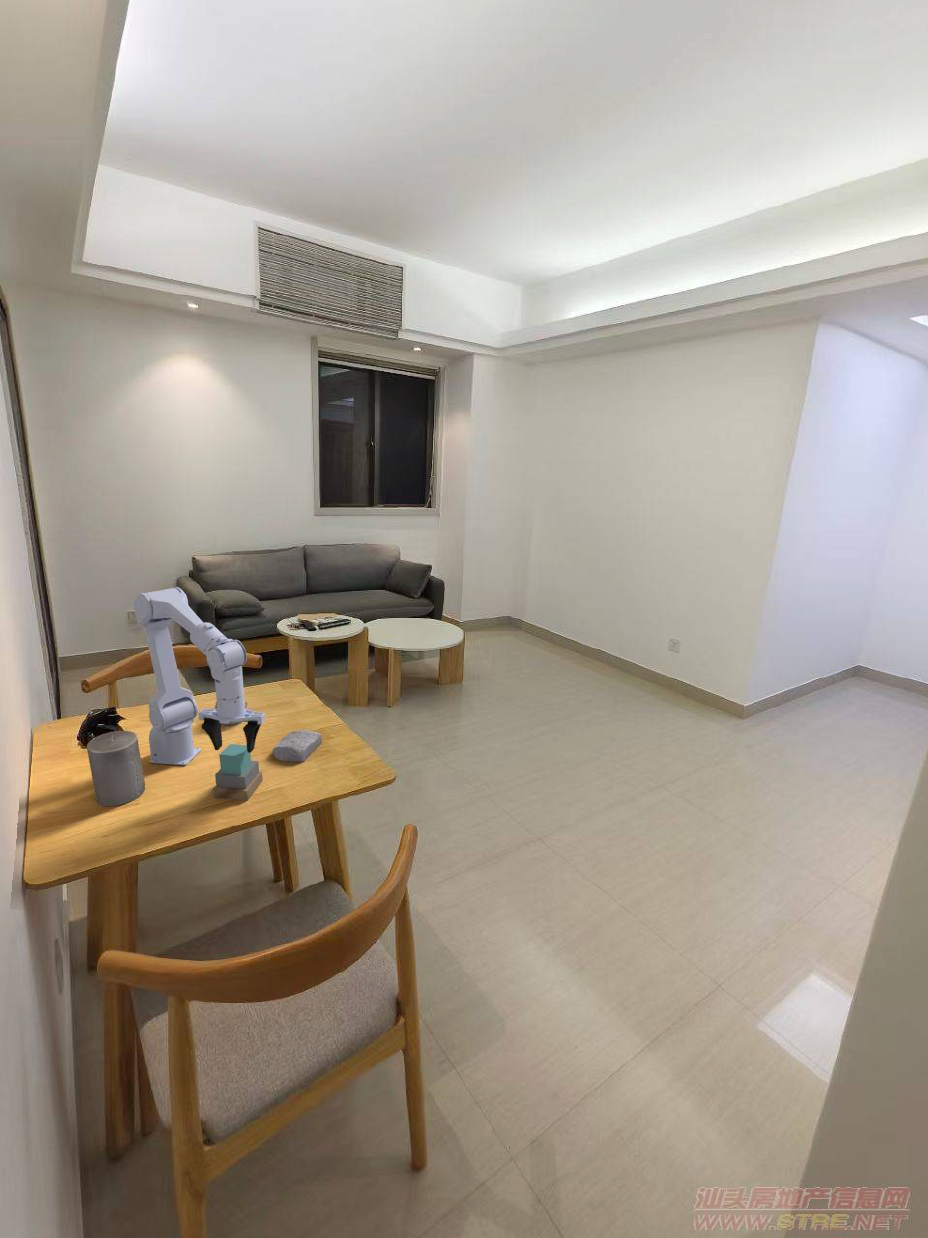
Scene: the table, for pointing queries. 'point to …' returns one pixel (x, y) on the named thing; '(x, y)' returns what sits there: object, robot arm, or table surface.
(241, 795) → the walnut slab
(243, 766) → the teal cube
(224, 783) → the grey block
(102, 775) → the pillar candle
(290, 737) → the stone block
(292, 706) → the table surface
